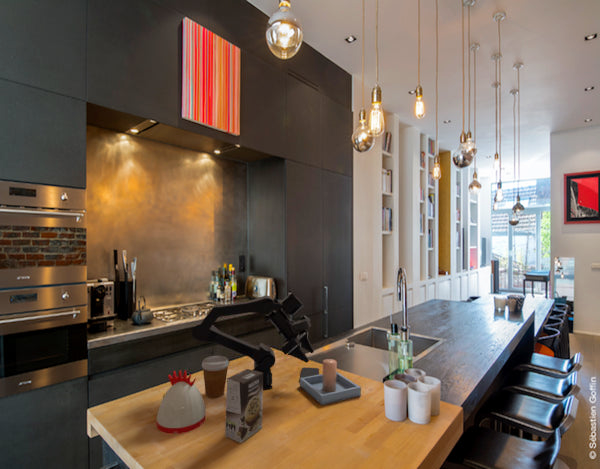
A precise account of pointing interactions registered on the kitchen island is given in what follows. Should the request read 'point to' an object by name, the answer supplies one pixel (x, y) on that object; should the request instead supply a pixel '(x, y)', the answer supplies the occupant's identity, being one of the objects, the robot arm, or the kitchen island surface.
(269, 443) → the kitchen island surface
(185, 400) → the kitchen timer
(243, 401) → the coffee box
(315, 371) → the phone
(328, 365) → the tan rounded glossy part
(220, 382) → the disposable coffee cup
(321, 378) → the tray
